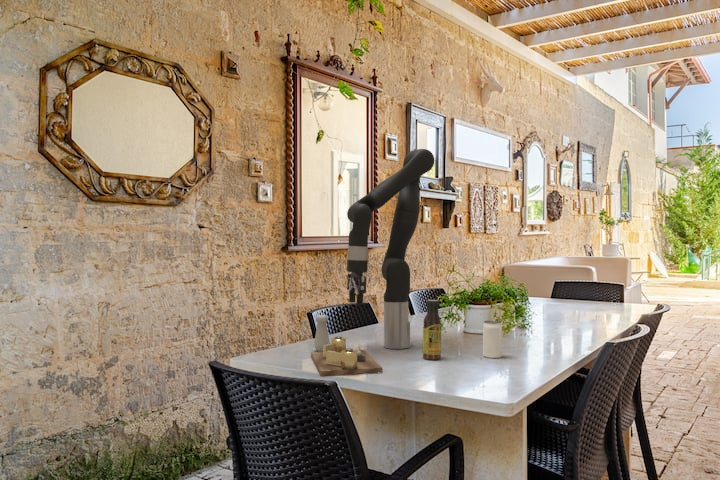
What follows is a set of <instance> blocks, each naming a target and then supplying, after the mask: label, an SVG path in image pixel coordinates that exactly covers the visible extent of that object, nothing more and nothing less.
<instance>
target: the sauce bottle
mask: <svg viewBox="0 0 720 480" xmlns="http://www.w3.org/2000/svg"><path fill="white" fill-rule="evenodd" d="M439 303H440V301H439V299H427V300H426V305H427V306H426V315H425V316H424V318H423V326H422V327H423V329H422V358H423V359H424V360H433V361H435V360H440V359H441V357H442V330H443V329H442V327H443V326H442V322H441V318H440V314H439Z"/></svg>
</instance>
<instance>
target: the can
mask: <svg viewBox="0 0 720 480" xmlns="http://www.w3.org/2000/svg"><path fill="white" fill-rule="evenodd" d="M483 322H484V323H483V325H482V352H483V354H482V355H483V357H484V358H487V359H500V358H502V357H503V325H502V322H501V321H500V320H484V321H483Z"/></svg>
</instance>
